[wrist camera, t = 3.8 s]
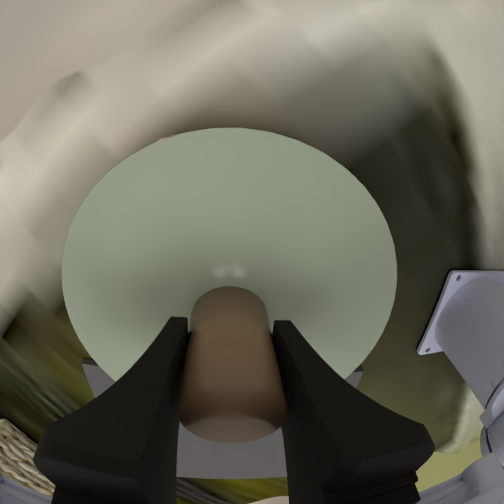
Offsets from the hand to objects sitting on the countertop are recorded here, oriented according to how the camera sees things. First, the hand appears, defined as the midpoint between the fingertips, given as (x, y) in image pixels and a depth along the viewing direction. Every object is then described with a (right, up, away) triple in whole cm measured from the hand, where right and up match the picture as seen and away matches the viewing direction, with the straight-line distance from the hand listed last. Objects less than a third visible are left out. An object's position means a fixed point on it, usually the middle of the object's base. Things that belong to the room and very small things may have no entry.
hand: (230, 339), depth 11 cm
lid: (0, +1, +2) cm, 2 cm away
